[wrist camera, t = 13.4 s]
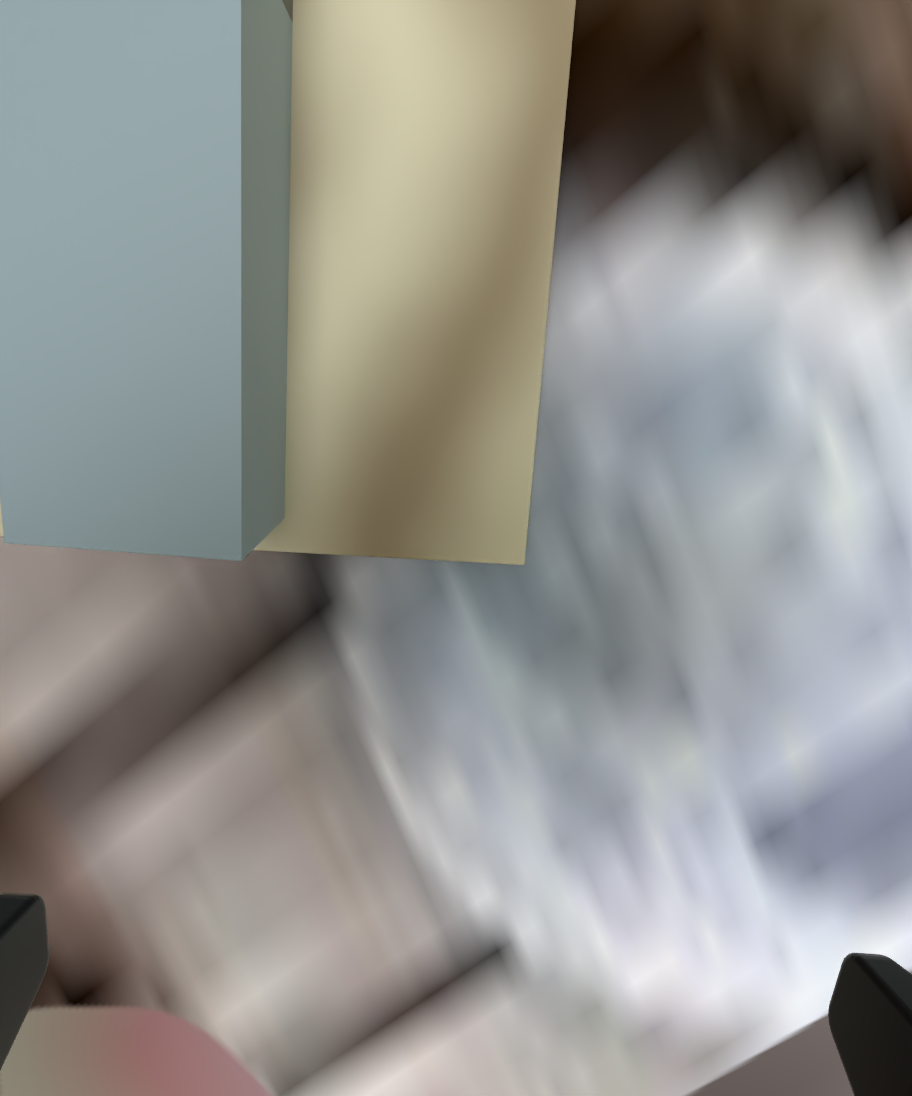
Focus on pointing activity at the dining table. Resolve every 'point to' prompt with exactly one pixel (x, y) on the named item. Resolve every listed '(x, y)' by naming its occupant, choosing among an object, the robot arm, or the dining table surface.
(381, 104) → the birch board
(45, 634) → the dining table surface
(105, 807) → the dining table surface
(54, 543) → the slate block
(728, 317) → the dining table surface
